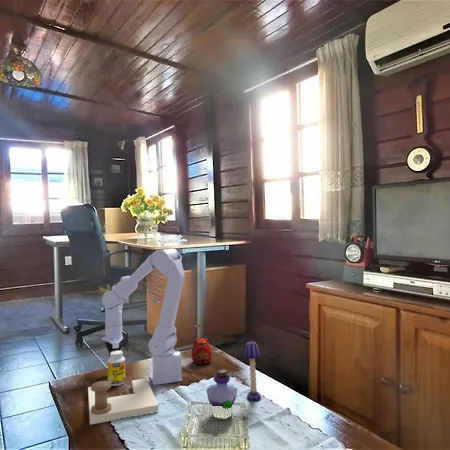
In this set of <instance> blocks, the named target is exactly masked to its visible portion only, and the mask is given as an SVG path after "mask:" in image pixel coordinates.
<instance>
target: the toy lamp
mask: <svg viewBox="0 0 450 450" xmlns="http://www.w3.org/2000/svg"><path fill="white" fill-rule="evenodd" d="M245 344H246V345H245V350H244V354H243V356H244V357H245V358H246V359H248V360H249V376H250V380H249V381H250V391H249V392H247V395H246V399H247V400H248V401H251V402H258V401H260V400H261V399H262V397H261V394H260V392H259V391H258V390H257V382H256V381H257V373H256V359H257V358H259V357H260V355H261V353H260V350H259V348H258V344H257V342H256V341H253V340H252V341H247V342H246V343H245Z"/></svg>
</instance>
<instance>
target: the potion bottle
mask: <svg viewBox="0 0 450 450" xmlns="http://www.w3.org/2000/svg"><path fill="white" fill-rule="evenodd" d="M230 380H231V375H230V374H229V373H228V370H227V369H218V370H216V372H215V374H214V375H213V382H215V384H211V385H210V386H208V388H207V389H206V390H205V391H206V395H207V396H206V397H207V399H208V400H207V401H208V402H209V403H210V404H212V406H222V407H223V408H225V409H226V408H227V409H228V408H231V407H232V405H233V404H234V405H235V401H236V400H237V395H238V388H237V387H236V386H235V385H233V384H231V383H229V382H230Z"/></svg>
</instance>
